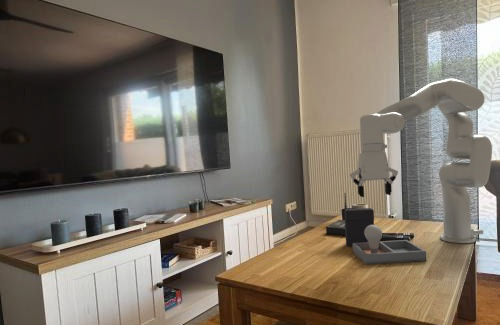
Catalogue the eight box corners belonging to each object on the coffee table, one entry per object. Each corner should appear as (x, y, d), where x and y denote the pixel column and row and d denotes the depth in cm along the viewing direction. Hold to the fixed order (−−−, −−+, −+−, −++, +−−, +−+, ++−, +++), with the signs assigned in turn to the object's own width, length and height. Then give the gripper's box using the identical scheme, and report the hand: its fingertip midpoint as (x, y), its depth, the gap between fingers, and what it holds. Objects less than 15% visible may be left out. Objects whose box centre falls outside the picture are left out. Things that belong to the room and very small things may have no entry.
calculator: (372, 243, 139) (371, 207, 138) (375, 246, 134) (373, 209, 134) (345, 244, 140) (343, 208, 139) (347, 247, 136) (345, 210, 135)
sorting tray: (407, 248, 129) (406, 239, 129) (426, 261, 115) (426, 251, 115) (352, 252, 129) (352, 243, 129) (365, 264, 115) (365, 254, 115)
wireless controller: (351, 237, 150) (350, 199, 149) (322, 234, 158) (321, 198, 157) (365, 227, 166) (364, 193, 165) (338, 225, 174) (337, 192, 173)
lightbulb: (383, 252, 124) (381, 223, 123) (383, 257, 118) (381, 227, 117) (365, 251, 126) (364, 222, 125) (365, 257, 120) (363, 227, 120)
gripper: (391, 147, 125) (394, 192, 126) (345, 150, 125) (348, 195, 126) (400, 147, 118) (403, 195, 118) (351, 150, 117) (354, 198, 118)
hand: (374, 195), depth 122 cm, fingers open, 9 cm apart
